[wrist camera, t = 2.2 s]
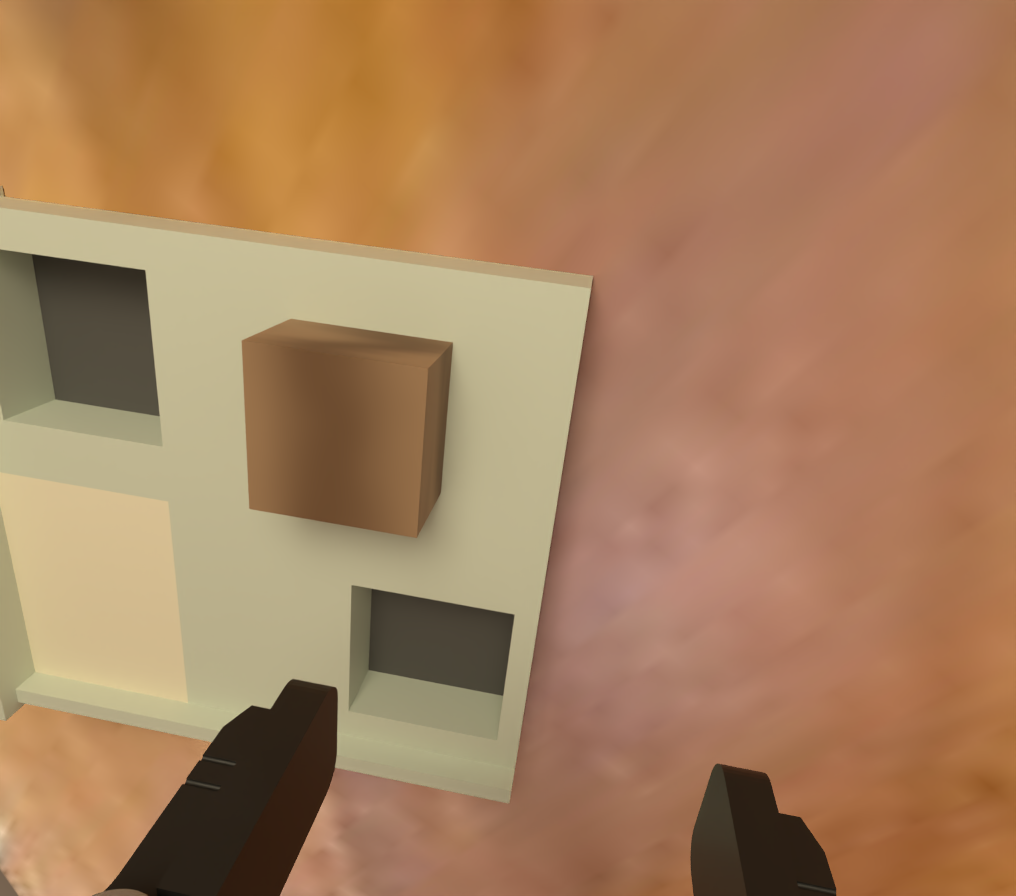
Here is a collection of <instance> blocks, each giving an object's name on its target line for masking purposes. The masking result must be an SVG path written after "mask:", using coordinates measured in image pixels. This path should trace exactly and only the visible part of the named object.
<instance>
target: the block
mask: <svg viewBox="0 0 1016 896" xmlns="http://www.w3.org/2000/svg"><path fill="white" fill-rule="evenodd" d="M452 349H453V342H447V341H440V340H433V339H426V338H420V337H413V336H406V335H399V334H392V333H385V332H379V331H372V330H365V329H358V328H351V327H344V326H338V325H331V324H324V323H317V322H310V321H303V320H297V319H289V320H287V321H284V322H282V323H280V324H278V325H275V326H273V327H271V328H269V329H266V330H264V331H262V332H260V333H257V334H255V335H253V336H251V337H248V338H246V339H244V340H242V361H243V383H244V405H245V427H246V449H247V471H248V493H249V509H252V510H258V511H264V512H269V513H275V514H281V515H287V516H293V517H298V518H304V519H310V520H316V521H321V522H327V523H333V524H339V525H344V526H350V527H356V528H362V529H367V530H373V531H379V532H385V533H390V534H396V535H402V536H408V537H414V538H417V537H418V535H419V533H420V531H421V529H422V527H423V526H424V524H425V522H426V520H427V518H428V516H429V514H430V512H431V511H432V509H433V507H434V505H435V503H436V501H437V499H438V498H439V496H440V494H441V485H442V472H443V460H444V448H445V435H446V423H447V411H448V398H449V386H450V374H451V361H452Z"/></svg>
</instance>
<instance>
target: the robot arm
mask: <svg viewBox="0 0 1016 896" xmlns="http://www.w3.org/2000/svg"><path fill="white" fill-rule="evenodd" d="M337 721H338V692H337V688H336V687H332V686H327V685H322V684H317V683H312V682H307V681H302V680H297V679H291V680H290V681H289V682H288V683H287V684H286V686H285V687H284V689H283V690H282V692H281V693H280V695H279V696H278V698H277V700H276V701H275V703H274V704H273V706H272V707H271V709H268V708H263V707H258V706H253V705H252V706H250V707H249V708H248V709H246V710H245V711H243V712H242V713H241V714H239V715H238V716H237V717H235V718H234V719H233V720H231V721H230V722H229V723H227V724H226V725H225V726H223V727H222V729H221V730H220V732H219V733H218V734H217V736H216V737H215V739H214V740H213V742H212V743H211V744H210V746H209V747H208V749H207V750H206V752H205V753H204V754H203V758H202V760H201V761H200V760H199V761H198V763H197V764H196V766H195V767H194V769H193V770H192V771H191V773H190V774H189V776H188V777H187V780H186V783H185V784H182V786H181V787H180V788H179V790H178V791H177V793H176V794H175V795H174V797H173V798H172V800H171V801H170V803H169V804H168V805H167V807H166V808H165V810H164V811H163V813H162V814H161V815H160V817H159V818H158V820H157V821H156V822H155V824H154V825H153V827H152V828H151V830H150V831H149V832H148V834H147V835H146V837H145V838H144V839H143V841H142V842H141V844H140V845H139V847H138V848H137V849H136V851H135V852H134V854H133V855H132V856H131V858H130V859H129V861H128V862H127V864H126V865H125V866H124V868H123V869H122V871H121V872H120V874H119V875H118V876H117V877H116V879H115V880H114V881H113V882H112V884H111V885H110V886H109V887H108V888H107V889H106V890H105V891H104V892H101V893H98V894H95V895H93V896H280V894H281V892H282V889H283V887H284V885H285V883H286V881H287V879H288V876H289V874H290V872H291V870H292V868H293V866H294V863H295V861H296V859H297V857H298V855H299V853H300V850H301V848H302V846H303V844H304V842H305V840H306V837H307V835H308V833H309V831H310V829H311V826H312V824H313V822H314V820H315V818H316V816H317V813H318V811H319V809H320V807H321V805H322V803H323V800H324V798H325V796H326V794H327V791H328V789H329V786H330V783H331V780H332V777H333V773H334V769H335V764H336V757H337ZM691 876H692V885H693V893H694V896H836V887H835V884H834V881H833V877H832V874H831V871H830V868H829V865H828V862H827V858H826V855H825V852H824V851H823V849H822V848H821V846H820V845H819V843H818V842H817V841H816V839H815V838H814V836H813V835H812V833H811V832H810V830H809V829H808V828H807V826H806V825H805V823H804V822H803V820H802V819H801V818H800V817H796V816H791V815H786V814H781V813H779V812H778V808H777V805H776V801H775V797H774V793H773V789H772V786H771V782H770V780H769V777H768V776H767V774H765V773H763V772H758V771H753V770H748V769H742V768H737V767H732V766H727V765H722V764H716V765H715V766H714V768H713V770H712V773H711V776H710V779H709V782H708V786H707V789H706V792H705V795H704V798H703V801H702V804H701V808H700V811H699V814H698V817H697V820H696V823H695V826H694V830H693V835H692V843H691Z"/></svg>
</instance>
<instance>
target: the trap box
mask: <svg viewBox="0 0 1016 896" xmlns="http://www.w3.org/2000/svg"><path fill="white" fill-rule="evenodd" d="M592 280H593V276H589V275H582V274H574V273H567V272H559V271H552V270H545V269H537V268H530V267H522V266H515V265H508V264H500V263H493V262H485V261H478V260H470V259H463V258H456V257H448V256H441V255H433V254H426V253H419V252H411V251H404V250H396V249H389V248H382V247H374V246H367V245H359V244H352V243H345V242H337V241H330V240H322V239H315V238H308V237H300V236H293V235H285V234H278V233H271V232H263V231H256V230H248V229H241V228H234V227H226V226H219V225H211V224H204V223H196V222H189V221H182V220H174V219H167V218H159V217H152V216H145V215H137V214H130V213H122V212H115V211H108V210H100V209H93V208H85V207H78V206H71V205H63V204H56V203H48V202H41V201H34V200H26V199H19V198H11V197H4V192H3V187H2V186H0V720H4V721H6V720H7V719H9V718H10V717H11V716H12V715H13V714H14V713H15V712H16V711H17V710H19V709H20V708H21V707H22V706H23V705H24V704H30V705H35V706H39V707H44V708H49V709H54V710H59V711H64V712H68V713H73V714H78V715H83V716H88V717H93V718H97V719H102V720H107V721H112V722H117V723H122V724H126V725H131V726H136V727H141V728H146V729H151V730H156V731H160V732H165V733H170V734H175V735H180V736H185V737H189V738H194V739H199V740H204V741H209V742H213V740H214V739H215V737H216V736H217V734H218V733H219V732H220V730H221V729H222V727H223V726H225V725H226V724H227V723H229V722H230V721H231V720H233V719H234V718H235V717H237V716H238V715H239V714H241V713H242V712H243V711H245V710H246V709H248V708H249V707H250V706H252V705H253V706H258V707H263V708H268V709H271V707H272V706H273V704H274V703H275V701H276V700H277V698H278V696H279V695H280V693H281V692H282V690H283V689H284V687H285V686H286V684H287V683H288V682H289V681H290V680H291V679H297V680H302V681H307V682H312V683H317V684H322V685H327V686H332V687H336V688H337V692H338V721H337V757H336V764H335V768H339V769H344V770H349V771H354V772H359V773H363V774H368V775H373V776H378V777H383V778H388V779H392V780H397V781H402V782H407V783H412V784H417V785H421V786H426V787H431V788H436V789H441V790H446V791H451V792H455V793H460V794H465V795H470V796H475V797H480V798H484V799H489V800H494V801H499V802H504V803H509V802H510V796H511V790H512V784H513V778H514V771H515V765H516V759H517V753H518V747H519V740H520V734H521V728H522V722H523V715H524V709H525V703H526V696H527V690H528V684H529V677H530V671H531V665H532V659H533V652H534V646H535V640H536V633H537V627H538V621H539V614H540V608H541V602H542V596H543V589H544V583H545V577H546V570H547V564H548V558H549V551H550V545H551V539H552V533H553V526H554V520H555V514H556V507H557V501H558V495H559V488H560V482H561V476H562V470H563V463H564V457H565V451H566V444H567V438H568V432H569V425H570V419H571V413H572V407H573V400H574V394H575V388H576V381H577V375H578V369H579V362H580V356H581V350H582V344H583V337H584V331H585V325H586V318H587V312H588V306H589V299H590V293H591V287H592ZM289 319H297V320H303V321H310V322H317V323H324V324H331V325H338V326H344V327H351V328H358V329H365V330H372V331H379V332H385V333H392V334H399V335H406V336H413V337H420V338H426V339H433V340H440V341H447V342H453V349H452V361H451V374H450V386H449V398H448V411H447V423H446V435H445V448H444V460H443V472H442V485H441V494H440V496H439V498H438V499H437V501H436V503H435V505H434V507H433V509H432V511H431V512H430V514H429V516H428V518H427V520H426V522H425V524H424V526H423V527H422V529H421V531H420V533H419V535H418V537H417V538H414V537H408V536H402V535H396V534H390V533H385V532H379V531H373V530H367V529H362V528H356V527H350V526H344V525H339V524H333V523H327V522H321V521H316V520H310V519H304V518H298V517H293V516H287V515H281V514H275V513H269V512H264V511H258V510H252V509H249V493H248V471H247V449H246V427H245V405H244V383H243V361H242V340H244V339H246V338H248V337H251V336H253V335H255V334H257V333H260V332H262V331H264V330H266V329H269V328H271V327H273V326H275V325H278V324H280V323H282V322H284V321H287V320H289Z"/></svg>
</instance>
